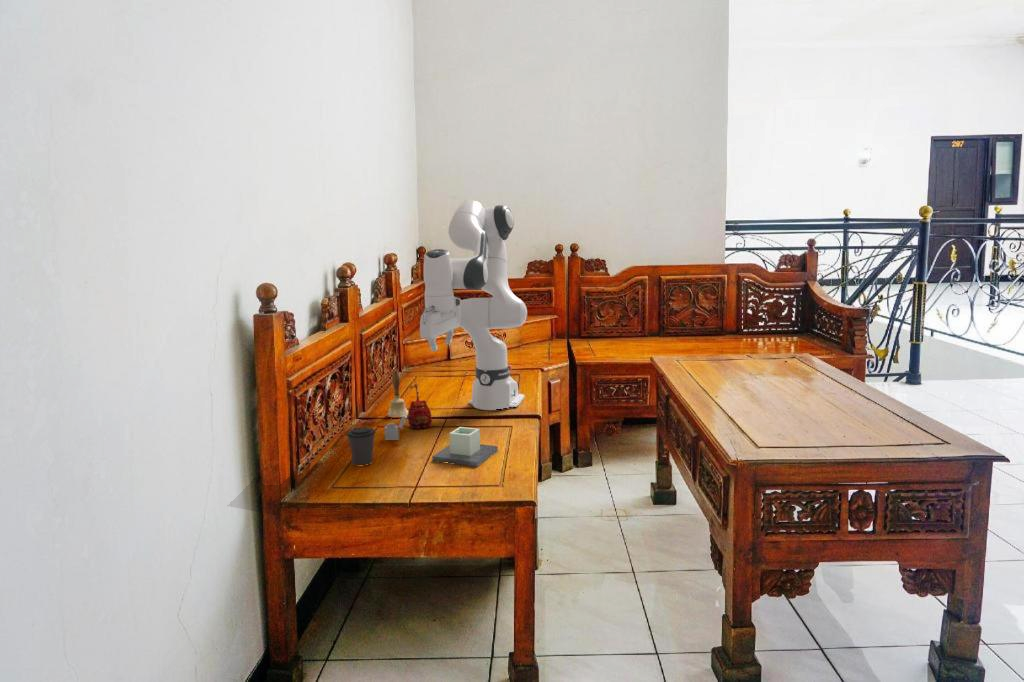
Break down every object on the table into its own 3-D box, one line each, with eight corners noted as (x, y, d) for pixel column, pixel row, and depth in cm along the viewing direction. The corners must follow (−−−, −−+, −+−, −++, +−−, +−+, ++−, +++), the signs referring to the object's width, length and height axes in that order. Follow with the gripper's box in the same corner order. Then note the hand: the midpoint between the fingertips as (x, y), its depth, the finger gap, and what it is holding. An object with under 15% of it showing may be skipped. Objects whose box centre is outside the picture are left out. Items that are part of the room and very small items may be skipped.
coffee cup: (352, 458, 209) (350, 424, 207) (380, 457, 208) (378, 424, 207) (345, 468, 201) (342, 433, 199) (373, 467, 200) (371, 433, 199)
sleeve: (460, 446, 212) (459, 426, 211) (480, 448, 210) (479, 428, 208) (450, 453, 206) (449, 433, 205) (470, 455, 204) (469, 435, 203)
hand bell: (383, 418, 247) (380, 373, 244) (390, 411, 255) (387, 367, 252) (406, 419, 246) (404, 373, 243) (413, 412, 254) (410, 367, 251)
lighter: (385, 441, 223) (383, 416, 222) (385, 439, 225) (384, 414, 224) (408, 440, 224) (406, 415, 222) (408, 438, 225) (407, 413, 224)
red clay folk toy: (410, 431, 232) (408, 386, 230) (406, 425, 239) (404, 381, 236) (433, 428, 235) (431, 383, 232) (429, 422, 241) (427, 379, 238)
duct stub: (455, 445, 217) (454, 425, 216) (497, 451, 212) (497, 429, 211) (432, 461, 205) (431, 439, 203) (476, 467, 199) (476, 444, 198)
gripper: (432, 310, 210) (434, 356, 213) (463, 298, 228) (465, 341, 231) (413, 309, 212) (415, 354, 215) (445, 297, 231) (447, 339, 234)
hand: (441, 347), depth 224 cm, fingers open, 8 cm apart
